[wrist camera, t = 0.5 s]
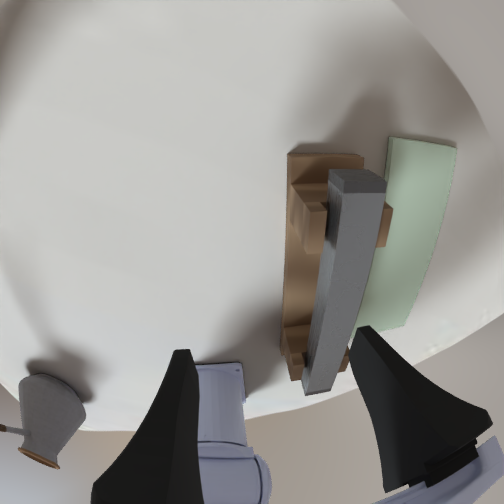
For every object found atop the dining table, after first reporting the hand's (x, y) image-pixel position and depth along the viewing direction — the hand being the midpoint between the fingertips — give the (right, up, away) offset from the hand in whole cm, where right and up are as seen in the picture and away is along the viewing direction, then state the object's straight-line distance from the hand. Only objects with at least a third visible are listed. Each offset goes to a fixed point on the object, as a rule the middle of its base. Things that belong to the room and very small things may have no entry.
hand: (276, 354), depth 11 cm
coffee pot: (-31, -12, +16) cm, 37 cm away
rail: (+4, +1, +8) cm, 9 cm away
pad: (+12, +4, +11) cm, 17 cm away
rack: (+4, +3, +11) cm, 12 cm away
